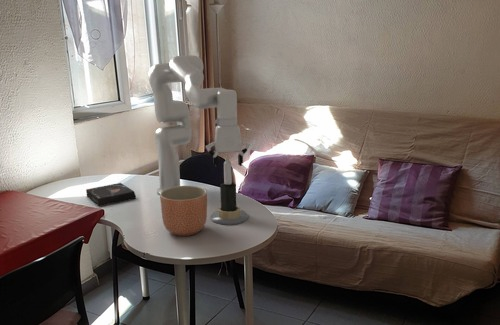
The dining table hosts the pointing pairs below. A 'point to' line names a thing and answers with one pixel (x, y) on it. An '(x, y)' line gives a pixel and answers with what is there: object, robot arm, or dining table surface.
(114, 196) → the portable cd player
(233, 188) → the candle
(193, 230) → the planter
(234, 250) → the dining table surface
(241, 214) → the candle holder
